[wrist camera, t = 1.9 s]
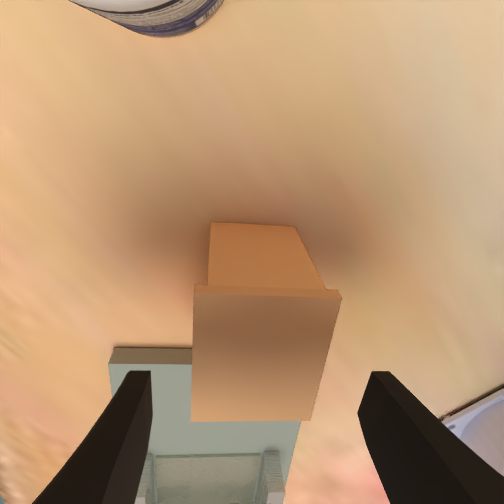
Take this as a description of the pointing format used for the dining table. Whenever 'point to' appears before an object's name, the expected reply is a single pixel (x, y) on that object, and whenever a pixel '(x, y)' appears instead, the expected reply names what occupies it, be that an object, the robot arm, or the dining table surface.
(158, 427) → the deck plate
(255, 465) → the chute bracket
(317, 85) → the dining table surface
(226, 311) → the chute block
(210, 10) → the pill bottle
